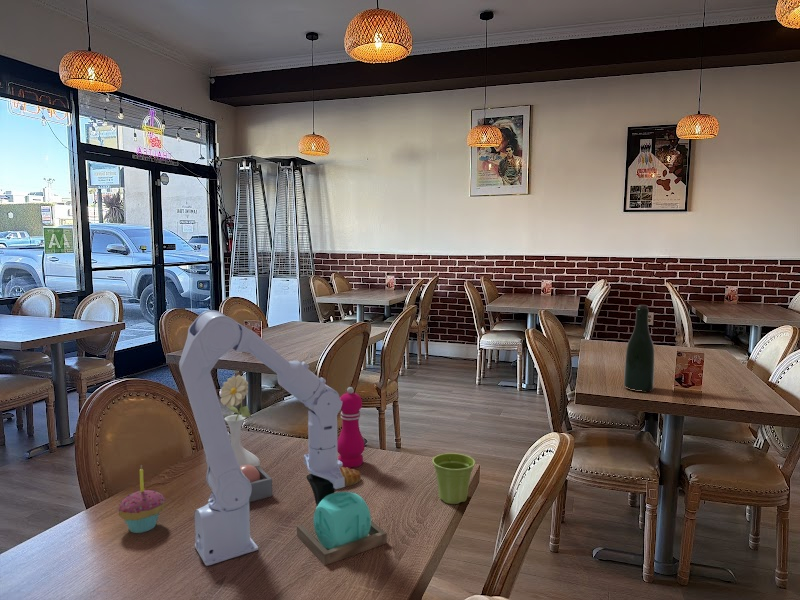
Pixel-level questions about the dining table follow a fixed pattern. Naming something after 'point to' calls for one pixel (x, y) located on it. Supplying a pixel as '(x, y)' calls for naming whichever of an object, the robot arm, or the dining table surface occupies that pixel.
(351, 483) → the pastry
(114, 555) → the dining table surface
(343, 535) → the decorative dice
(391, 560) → the dining table surface
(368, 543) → the frame
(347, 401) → the pepper mill
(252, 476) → the pop dome
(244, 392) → the flower in vase
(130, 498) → the cupcake
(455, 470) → the plant pot
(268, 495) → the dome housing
